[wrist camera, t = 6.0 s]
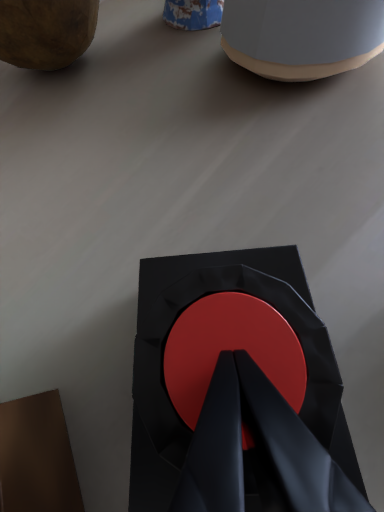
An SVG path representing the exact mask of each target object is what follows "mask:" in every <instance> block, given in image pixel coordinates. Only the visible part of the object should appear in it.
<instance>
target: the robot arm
mask: <svg viewBox="0 0 384 512" xmlns="http://www.w3.org/2000/svg"><path fill="white" fill-rule="evenodd" d="M241 424H242V425H241ZM242 428H243V433H244V437H245V441H246V445H247V449H248V453H249V457H250V461H251V465H252V469H253V473H254V477H255V481H256V485H257V489H258V493H259V497H260V501H261V505H262V509H263V512H376V510H375V509H374V508H373V507H372V506H371V504H370V503H369V502H368V501H367V500H366V498H365V497H364V496H363V495H362V494H361V492H360V491H359V490H358V489H357V488H356V486H355V485H354V484H353V483H352V482H351V480H350V479H349V478H348V477H347V475H346V474H345V473H344V472H343V470H342V469H341V468H340V467H339V465H338V464H337V463H336V462H335V461H334V460H333V459H331V456H330V454H329V453H328V452H327V451H326V449H325V448H324V447H323V446H322V445H321V443H320V442H319V441H318V440H317V438H316V437H315V436H314V435H313V433H312V432H311V431H310V430H309V428H308V427H307V426H306V425H305V423H304V422H303V421H302V420H301V418H300V417H299V416H298V415H297V413H296V412H295V411H294V410H293V408H292V407H291V406H290V405H289V403H288V402H287V401H286V400H285V398H284V397H283V396H282V395H281V393H280V392H279V391H278V390H277V388H276V387H275V386H274V385H273V383H272V382H271V381H270V380H269V378H268V377H267V376H266V375H265V373H264V372H263V371H262V370H261V368H260V367H259V366H258V365H257V363H256V362H255V361H254V360H253V358H252V357H251V356H250V355H249V353H248V352H247V351H246V350H245V349H235V350H233V351H232V350H221V351H220V353H219V356H218V359H217V362H216V365H215V368H214V371H213V374H212V377H211V381H210V384H209V387H208V390H207V393H206V396H205V399H204V402H203V405H202V408H201V411H200V414H199V417H198V420H197V423H196V427H195V430H194V433H193V436H192V439H191V442H190V445H189V448H188V451H187V454H186V457H185V463H183V466H182V469H181V472H180V475H179V478H178V481H177V484H176V487H175V490H174V492H173V495H172V498H171V501H170V504H169V506H168V509H167V512H245V496H244V472H243V448H242Z"/></svg>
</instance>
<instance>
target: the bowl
mask: <svg viewBox="0 0 384 512" xmlns="http://www.w3.org/2000/svg"><path fill="white" fill-rule="evenodd" d="M99 2H100V0H0V60H2V61H4V62H7V63H9V64H12V65H14V66H17V67H19V68H27V69H36V70H52V71H53V70H57V69H61V68H64V67H66V66H68V65H70V64H71V63H73V62H74V61H75V60H76V59H78V58H79V57H80V56H81V55H82V54H83V53H84V52H85V51H86V50H87V48H88V47H89V46H90V44H91V42H92V40H93V38H94V34H95V30H96V24H97V15H98V8H99Z"/></svg>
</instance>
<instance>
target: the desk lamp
mask: <svg viewBox="0 0 384 512" xmlns="http://www.w3.org/2000/svg"><path fill="white" fill-rule="evenodd" d="M220 33H221V34H222V37H221V46H222V48H223V49H224V51H225V52H226V54H227V55H228V56H229V58H230V59H231V60H232V61H234V62H235V63H237V64H239V65H241V66H243V67H244V68H246V69H248V70H250V71H252V72H254V73H256V74H258V75H260V76H262V77H264V78H267V79H272V80H277V81H282V82H304V81H312V80H316V79H320V78H324V77H328V76H331V75H335V74H338V73H342V72H345V71H349V70H352V69H354V68H358V67H360V66H362V65H363V64H365V63H366V62H368V61H369V60H370V59H372V58H373V57H375V56H376V55H378V54H379V53H381V52H382V51H383V48H384V0H224V5H223V11H222V18H221V25H220Z"/></svg>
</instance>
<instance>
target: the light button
mask: <svg viewBox="0 0 384 512" xmlns="http://www.w3.org/2000/svg"><path fill="white" fill-rule="evenodd" d="M235 349H245V350H246V351H247V352H248V353H249V355H250V356H251V357H252V358H253V360H254V361H255V362H256V363H257V365H258V366H259V367H260V368H261V370H262V371H263V372H264V373H265V375H266V376H267V377H268V378H269V380H270V381H271V382H272V383H273V385H274V386H275V387H276V388H277V390H278V391H279V392H280V393H281V395H282V396H283V397H284V398H285V400H286V401H287V402H288V403H289V405H290V406H291V407H292V408H293V410H294V411H295V412H296V413H297V415H298V413H299V411H300V409H301V406H302V403H303V400H304V396H305V391H306V381H307V375H306V364H305V358H304V354H303V351H302V348H301V345H300V343H299V341H298V338H297V336H296V335H295V333H294V331H293V329H292V328H291V326H290V325H289V324H288V322H287V321H286V320H285V319H284V318H283V317H282V315H281V314H280V313H279V312H277V311H276V310H275V309H274V308H273V307H271V306H270V305H268V304H267V303H265V302H264V301H262V300H260V299H258V298H256V297H253V296H250V295H247V294H243V293H236V292H222V293H216V294H212V295H208V296H206V297H204V298H201V299H200V300H198V301H196V302H194V303H193V304H192V305H191V306H189V307H188V308H187V309H186V310H185V311H184V312H183V313H182V314H181V315H180V317H179V318H178V319H177V320H176V322H175V324H174V326H173V327H172V329H171V332H170V334H169V336H168V339H167V343H166V347H165V352H164V377H165V382H166V387H167V390H168V394H169V396H170V399H171V401H172V403H173V405H174V407H175V409H176V411H177V412H178V414H179V415H180V417H181V418H182V419H183V421H184V422H185V423H186V424H187V425H188V426H189V427H190V428H191V429H192V430H193V431H194V430H195V427H196V423H197V420H198V417H199V414H200V411H201V408H202V405H203V402H204V399H205V396H206V393H207V390H208V387H209V384H210V381H211V377H212V374H213V371H214V368H215V365H216V362H217V359H218V356H219V353H220V351H221V350H232V351H233V350H235ZM241 425H242V424H241ZM242 448H243V450H248V449H247V445H246V441H245V437H244V433H243V428H242Z"/></svg>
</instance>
